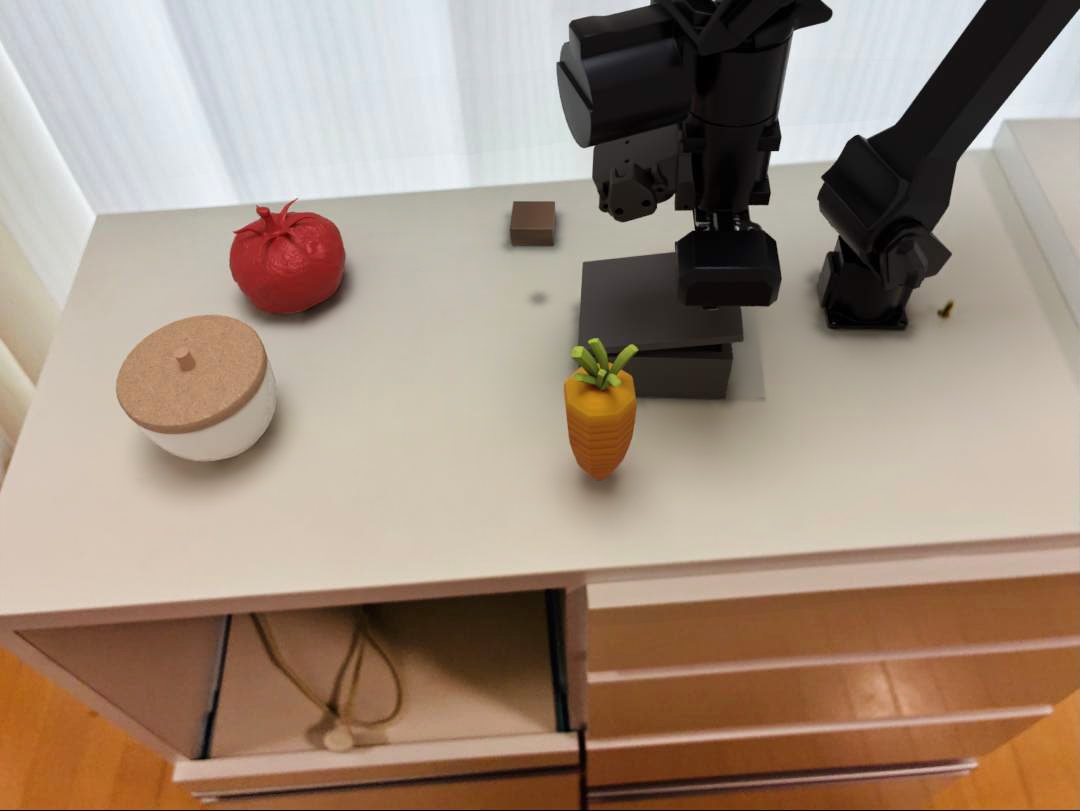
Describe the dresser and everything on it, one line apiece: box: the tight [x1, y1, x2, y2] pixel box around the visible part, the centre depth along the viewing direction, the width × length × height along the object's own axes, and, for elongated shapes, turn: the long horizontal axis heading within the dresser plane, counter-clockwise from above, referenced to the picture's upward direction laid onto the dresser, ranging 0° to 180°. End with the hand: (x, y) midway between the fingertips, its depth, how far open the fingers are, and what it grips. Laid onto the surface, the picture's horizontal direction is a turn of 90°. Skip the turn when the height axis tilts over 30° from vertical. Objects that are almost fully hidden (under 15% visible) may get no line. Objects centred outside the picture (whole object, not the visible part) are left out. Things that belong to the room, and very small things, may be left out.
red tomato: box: [228, 197, 346, 315], centre depth 72 cm, size 10×10×9 cm
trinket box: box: [115, 314, 278, 462], centre depth 63 cm, size 11×11×9 cm
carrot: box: [563, 338, 638, 481], centre depth 56 cm, size 5×5×15 cm
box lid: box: [577, 229, 745, 355], centre depth 62 cm, size 12×10×5 cm
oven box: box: [578, 343, 734, 400], centre depth 67 cm, size 12×10×5 cm
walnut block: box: [509, 200, 557, 246], centre depth 78 cm, size 4×4×2 cm
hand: (707, 284), depth 62 cm, fingers closed on box lid, 4 cm apart
